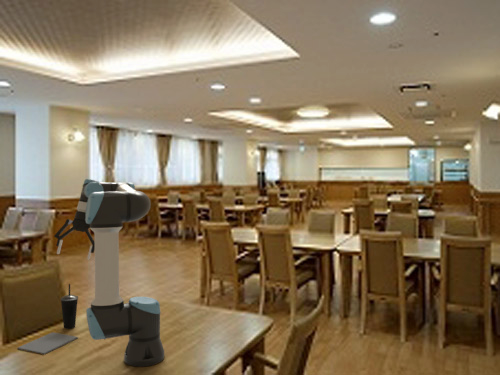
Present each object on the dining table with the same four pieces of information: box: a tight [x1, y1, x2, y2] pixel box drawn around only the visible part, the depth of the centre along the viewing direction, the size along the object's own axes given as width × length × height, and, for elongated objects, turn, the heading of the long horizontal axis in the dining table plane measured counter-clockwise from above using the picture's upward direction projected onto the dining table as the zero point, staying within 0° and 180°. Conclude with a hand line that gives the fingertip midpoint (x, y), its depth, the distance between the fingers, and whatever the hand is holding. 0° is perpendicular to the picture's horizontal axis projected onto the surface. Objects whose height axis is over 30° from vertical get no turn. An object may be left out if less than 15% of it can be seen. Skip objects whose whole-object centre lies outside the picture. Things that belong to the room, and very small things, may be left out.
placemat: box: [17, 331, 79, 355], centre depth 180 cm, size 14×18×1 cm
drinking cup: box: [59, 283, 79, 330], centre depth 198 cm, size 8×8×20 cm
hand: (73, 256), depth 199 cm, fingers open, 13 cm apart
